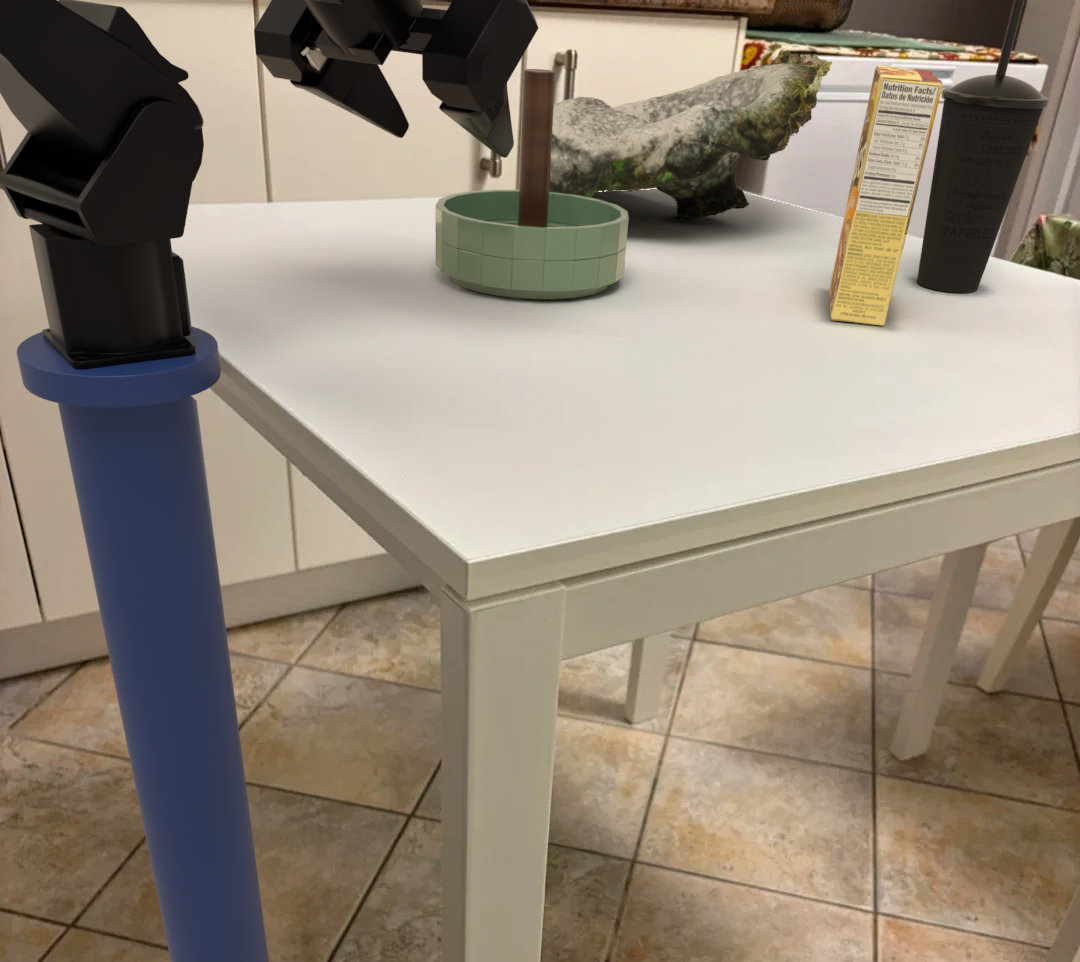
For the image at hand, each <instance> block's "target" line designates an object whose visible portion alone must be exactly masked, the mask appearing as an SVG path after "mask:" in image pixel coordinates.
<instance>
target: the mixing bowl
mask: <svg viewBox="0 0 1080 962" xmlns="http://www.w3.org/2000/svg"><path fill="white" fill-rule="evenodd" d="M518 210H519V189H485V190H472V191H471V190H469V191H464V192H458V193H451V194H448V195H447V196H443V197H441V198H439V199H438V200H437V202H436V204H435V266H436V267H437V268H438V269H439V271H440V272H441V273H443V274H444V275H447V276H449V277H450V278H449V279H451V281H452V282H453V283H455V284H456V285H459V286H461V287H462V288H466V289H468V290H471V291H474V292H477V293H482V294H486V295H491V296H496V297H503V298H510V299H522V300H543V301H544V300H551V301H552V300H569V299H578V298H583V297H585V298H586V297H589V296H593V295H596V294H599V293H601V292H603V291H605V290H607V289H608V287H609V286H610V285H612V284H615V283H617V282H618V281H619V280H621V279H622V278H623V277H624V275H625V274H624V273H625V266H626V265H625V263H626V253H627V242H628V230H629V220H630V216H629V212H628V210H626V209H625V208H623V207H622V206H620V205H618V204H616V203H612V202H609V201H606V200H603V199H600V198H594V197H585V196H580V195H573V194H565V193H557V192H549V203H548V222H547V227H538V226H522V225H518Z"/></svg>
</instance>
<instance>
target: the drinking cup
mask: <svg viewBox="0 0 1080 962" xmlns="http://www.w3.org/2000/svg"><path fill="white" fill-rule="evenodd" d="M1024 3H1025V0H1013V3H1012V8H1011V13H1010V15H1009V19H1008V24H1007V28H1006V32H1005V36H1004V40H1003V44H1002V48H1001V52H1000V56H999V59H998V64H997V67H996V72H995V74H986V75H985V74H984V75H978V76H975V77H971V78H968V79H965V80H962V81H960V82H958V83H956V84H955V85H953V86H951V87H947V88H944V89H943V88H942V90H941V94H940V98H941V99H942V100H943V104H942V105H943V106H942V111H941V118H940V125H939V130H938V131H939V132H938V139H937V145H936V152H935V159H934V163H933V173H932V178H931V184H930V191H929V198H928V204H927V209H926V210H927V211H926V218H925V224H924V225H925V226H924V231H923V236H922V237H923V238H922V244H921V251H920V257H919V264H918V271H917V277H916V283H917V284H918V285H919V286H921V287H923V288H927V289H930V290H934V291H940V292H946V293H957V294H958V293H959V294H967V293H973V292H976V291H978V289H979V287H980V283H981V281H982V279H983V276H984V273H985V270H986V267H987V265H988V262H989V259H990V256H991V253H992V251H993V248H994V245H995V242H996V240H997V237H998V235H999V232H1000V229H1001V227H1002V223H1003V221H1004V218H1005V216H1006V213H1007V210H1008V207H1009V205H1010V204H1009V203H1010V201H1011V198H1012V196H1013V193H1014V190H1015V187H1016V184H1017V182H1018V180H1019V177H1020V173H1021V171H1022V168H1023V165H1024V163H1025V160H1026V157H1027V154H1028V152H1029V149H1030V146H1031V144H1032V140H1033V137H1034V135H1035V132H1036V130H1037V126H1038V123H1039V121H1040V118H1041V116H1042V114H1043V113H1042V112H1043V110H1044V109H1046V108H1048V107H1049V104H1050V98H1048V97H1047V96H1045V95H1042V93H1041V92H1040V91H1039V90H1038V89H1036V87H1034V86H1033V85H1032V84H1029V82H1026V81H1024V80H1022V79H1019V78H1016V77H1013V76H1010V75H1006V74H1007V71H1008V66H1009V62H1010V59H1011V54H1012V50H1013V47H1014V42H1015V39H1016V35H1017V31H1018V27H1019V23H1020V20H1021V19H1020V18H1021V15H1022V11H1023V8H1024Z"/></svg>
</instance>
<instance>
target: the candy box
mask: <svg viewBox="0 0 1080 962" xmlns="http://www.w3.org/2000/svg"><path fill="white" fill-rule="evenodd" d="M873 74H874V75H873V78H872V83H871V88H870V92H869V97H868V102H867V107H866V110H865V115H864V116H865V117H864V122H863V125H862V131H861V135H860V139H859V144H858V149H857V153H856V158H855V163H854V168H853V171H852V177H851V183H850V187H849V192H848V197H847V202H846V205H845V211H844V212H845V213H844V217H843V221H842V226H841V231H840V235H839V236H840V237H839V241H838V247H837V252H836V257H835V261H834V266H833V271H832V276H831V281H830V285H829V311H830V312H829V314H830V315H829V316H830V321H833V322H844V323H845V322H846V323H856V324H865V325H874V326H884V325H885V324H886V320H887V315H888V312H889V308H890V305H891V299H892V295H893V292H894V287H895V283H896V279H897V275H898V271H899V268H900V263H901V259H902V255H903V250H904V247H905V244H906V238H907V235H908V231H909V227H910V224H911V223H910V222H911V220H912V219H911V218H912V215H913V210H914V206H915V202H916V198H917V194H918V189H919V186H920V181H921V177H922V173H923V169H924V164H925V161H926V160H925V159H926V158H927V157H926V156H927V153H928V148H929V144H930V142H931V141H930V140H931V136H932V132H933V128H934V124H935V120H936V115H937V110H938V107H939V103H940V98H941V95H942V91H943V86H944V85H943V84H944V83H943V81H942V80H941V79H939V78H938V77H937V76H935V74H933V72H932V70H926V69H919V68H911V67H899V66H887V65H877V66H876V67H875V69H874V72H873Z"/></svg>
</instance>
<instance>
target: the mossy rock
mask: <svg viewBox="0 0 1080 962" xmlns="http://www.w3.org/2000/svg"><path fill="white" fill-rule="evenodd" d="M832 64H833V61H828V60H826V59H823V58H819V56H818V55H817V54H814V53H812V54H811V53H808V54H807V55H805V54H804V53H802V54H800V53H796V52H794V53H792V52H790V50H789V49H786V50H784V49H780V50H779V52H778V53H777V57H776V58H775V59H774V60H773V61H772V62H770V63H769V64H767V63H766V64H761V65H756V66H753V67H750V68H746V69H742V70H738V71H735V72H730V73H727V74H725V75H719V76H716V77H714V78H712V79H710V80H707V81H705V82H702V83H700V84H696V85H694V86H691V87H689V88H685V89H682V90H678V91H674V92H671V93H668V94H664V95H660V96H654V97H650V98H647V99H642V100H638V101H635V102H627V103H623V104H620V105H618V106H615V107H612V106H611V105H609V104H608V103H606V102H605V101H604V100H602V99H599V98H596V97H592V96H591V97H589V96H588V97H587V96H577V97H572V98H568V99H565V100H562V101H559V102H557V103H555V104H554V108H553V127H552V146H551V165H550V184H549V192H557V193H565V194H573V195H580V196H585V197H590V198H593V196H594V195H595V193H599V192H601V193H603V194H604V193H605V192H607V193H613V192H614V191H615V192H623V191H624V192H628V193H632V192H638V191H640V190H643V191H644V190H647V189H649V190H650V189H657V190H658V191H659V192H661V193H663V194H665V195H668V196H669V197H671V198H672V200H674V201H675V202H676V213H677V217H678V218H679V219H680V220H681V221H683V220H696V219H703V218H706V217H713V216H716V215H718V214H723V213H725V212H727V211H731V210H734V209H736V210H739V209H745V208H747V207H748V206H749V205H750V203H749V201H748V199H747V197H746V194H745V193H744V190H743V189H741V188H739V187H737V186H736V183H735V182H736V181H735V171H736V168H737V166H738V164H739V161H740V159H741V156H743V157H744V158H746V159H753V160H758V161H768V160H769V159H770V157H771V155H775V154H776V153H778V152H782V151H784V150H785V149H786V148H787V146H789V142H790V139H791V137H792V136H795V135H797V134H798V133H800V128H801V127H805V124H806V123H809V121H811V120H812V118H813V116H812V110H813V109H815V108H816V106H817V104H818V102H817V101H818V98H817V97H818V92H819V91H820V89H821V83H822V81H823V77H826V76H827V74H828V73H829V72H830V71H831V66H832Z"/></svg>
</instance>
